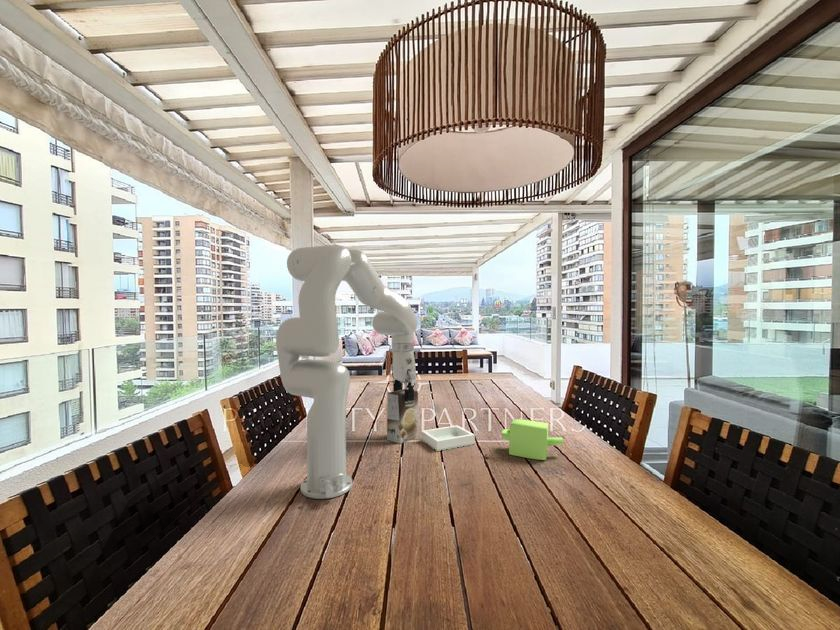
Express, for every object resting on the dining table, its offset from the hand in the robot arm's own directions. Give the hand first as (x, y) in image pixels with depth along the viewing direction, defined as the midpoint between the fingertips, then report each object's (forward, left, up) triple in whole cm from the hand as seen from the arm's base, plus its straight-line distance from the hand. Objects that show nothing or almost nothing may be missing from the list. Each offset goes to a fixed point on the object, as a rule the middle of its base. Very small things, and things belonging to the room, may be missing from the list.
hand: (403, 397), depth 131 cm
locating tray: (-10, -12, -14) cm, 21 cm away
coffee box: (0, 0, -14) cm, 14 cm away
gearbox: (-29, -30, -14) cm, 45 cm away
